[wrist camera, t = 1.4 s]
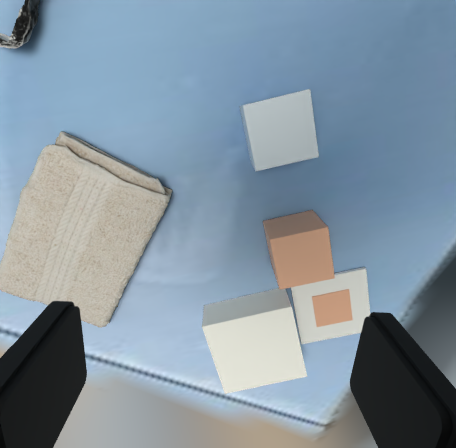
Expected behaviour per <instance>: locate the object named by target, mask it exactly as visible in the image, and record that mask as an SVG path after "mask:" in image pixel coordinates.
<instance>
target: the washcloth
mask: <svg viewBox="0 0 456 448" xmlns="http://www.w3.org/2000/svg"><path fill="white" fill-rule="evenodd" d="M171 193H172V189H168V188H166V187H164V186H162V185H161V183H160V181H159V180H158V178H157V179H155V178H153V177H152V176H150V175H149V174H147V173H145V172H143V171H141V170H140V169H138V168H136V167H134V166H132V165H130V164H127V163H125V162H123V161H120V160H118V159H116V158H114V157H112V156H110V155H108V154H106V153H105V152H103V151H101V150H100V149H97V148H96V147H93V146H91V145H89V144H88V143H86V142H84V141H82V140H80V139H78V138H76V137H74V136H72V135H69V134H67V133H66V132H62V131H61V132H60V134H59V137H57V139H56V144H55V145H47V146H46V147H45V148H43V150H42V152H41V154H40V155H39V157H38V160H37V163H36V166H35V168H34V171H33V173H32V174H31V176H30V178H29V180H28V182H27V184H26V185H25V186H24V187H23V189H22V191H21V194H20V201H19V205H18V208H17V212H16V216H15V218H14V222H13V224H12V227H11V229H10V233H9V234H8V239H7V243H6V249H5V252H4V256H3V258H2V261H1V264H0V290H1V291H2V292H6V293H9V294H12V295H16V296H18V297H20V298H24V299H27V300H32V301H38V302H42V303H44V304H46V305H49V304H50V303H51V302H52V301H72V302H73V303H74V305H75V306H78V307H79V309H80V316H81V320H82V321H84V322H87V323H90V324H93V325H95V326H98V327H105V326H106V325H107V324H108V323H110V318H111V317H112V314H113V312H114V310H115V308H116V307H118V305H117V304H118V302H119V300H120V298H121V297H122V294H123V292H124V289H125V287H126V285H127V283H128V281H129V279H130V277H131V276H132V274H133V273H134V270H135V268H136V266H137V263H138V262H139V259H140V256H142V255H143V252H144V249H145V246H146V245H147V243H148V241H149V240H150V239H151V236H152V233H153V232H154V231H155V228H156V226H157V224H158V222H159V221H160V219H161V217H162V216H163V214H164V211H165V209H166V207H167V206H168V203H169V199H170V197H171Z"/></svg>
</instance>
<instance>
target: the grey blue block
mask: <svg viewBox="0 0 456 448" xmlns="http://www.w3.org/2000/svg"><path fill="white" fill-rule="evenodd" d="M239 107H240V112H241V117H242V122H243V127H244V131H245V136H246V141H247V146H248V151H249V156H250V161H251V163H252V165H253V167H254V169H255V170H256V171H260V170H264V169H268V168H273V167H277V166H281V165H286V164H290V163H294V162H299V161H303V160H307V159H312V158H316V157H319V154H318V146H317V138H316V131H315V123H314V115H313V107H312V100H311V92H310V89H308V90H304V91H299V92H295V93H291V94H287V95H283V96H279V97H275V98H271V99H267V100H262V101H258V102H254V103H250V104H246V105H242V106H239Z"/></svg>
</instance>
